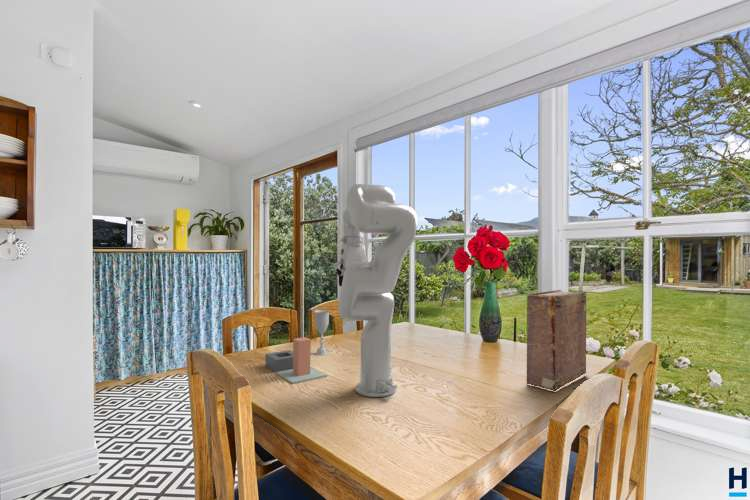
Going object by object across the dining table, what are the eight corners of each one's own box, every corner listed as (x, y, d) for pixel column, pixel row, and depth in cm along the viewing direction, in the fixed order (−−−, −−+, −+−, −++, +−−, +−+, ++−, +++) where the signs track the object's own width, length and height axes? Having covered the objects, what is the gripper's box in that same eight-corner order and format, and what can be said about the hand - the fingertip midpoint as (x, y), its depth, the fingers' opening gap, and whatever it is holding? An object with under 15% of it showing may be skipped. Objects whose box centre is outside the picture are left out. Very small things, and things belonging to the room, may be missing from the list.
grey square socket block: (301, 367, 143) (301, 355, 143) (276, 372, 137) (276, 359, 137) (289, 361, 151) (290, 350, 151) (265, 365, 145) (265, 353, 145)
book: (559, 370, 142) (560, 289, 142) (586, 376, 135) (586, 291, 136) (526, 385, 125) (526, 294, 126) (554, 393, 119) (555, 296, 119)
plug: (310, 373, 134) (310, 339, 134) (298, 376, 131) (298, 341, 131) (304, 370, 137) (304, 337, 137) (292, 372, 135) (293, 338, 135)
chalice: (328, 355, 159) (328, 312, 159) (312, 355, 159) (312, 312, 160) (330, 351, 167) (331, 310, 167) (315, 351, 167) (315, 309, 167)
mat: (327, 376, 133) (327, 374, 133) (292, 384, 125) (292, 382, 125) (309, 367, 143) (309, 365, 143) (276, 373, 135) (276, 372, 135)
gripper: (339, 240, 140) (338, 287, 140) (376, 241, 151) (376, 285, 151) (328, 241, 146) (328, 286, 146) (365, 242, 157) (364, 284, 157)
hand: (352, 285), depth 149 cm, fingers open, 9 cm apart
